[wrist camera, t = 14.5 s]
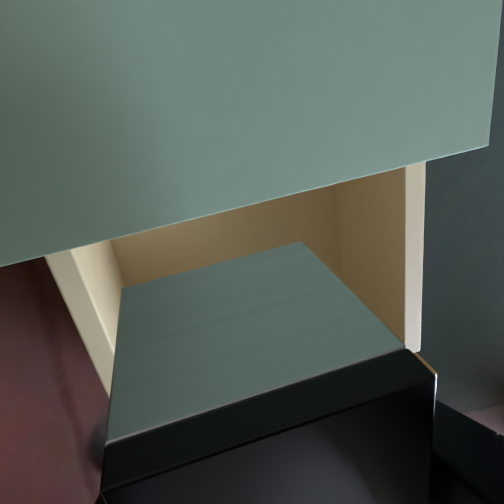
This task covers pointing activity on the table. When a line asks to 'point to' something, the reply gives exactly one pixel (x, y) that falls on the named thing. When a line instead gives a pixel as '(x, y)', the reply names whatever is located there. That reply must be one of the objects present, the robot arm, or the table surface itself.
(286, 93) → the cabinet
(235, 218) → the drawer
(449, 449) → the robot arm
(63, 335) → the table surface
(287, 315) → the black lidded box
